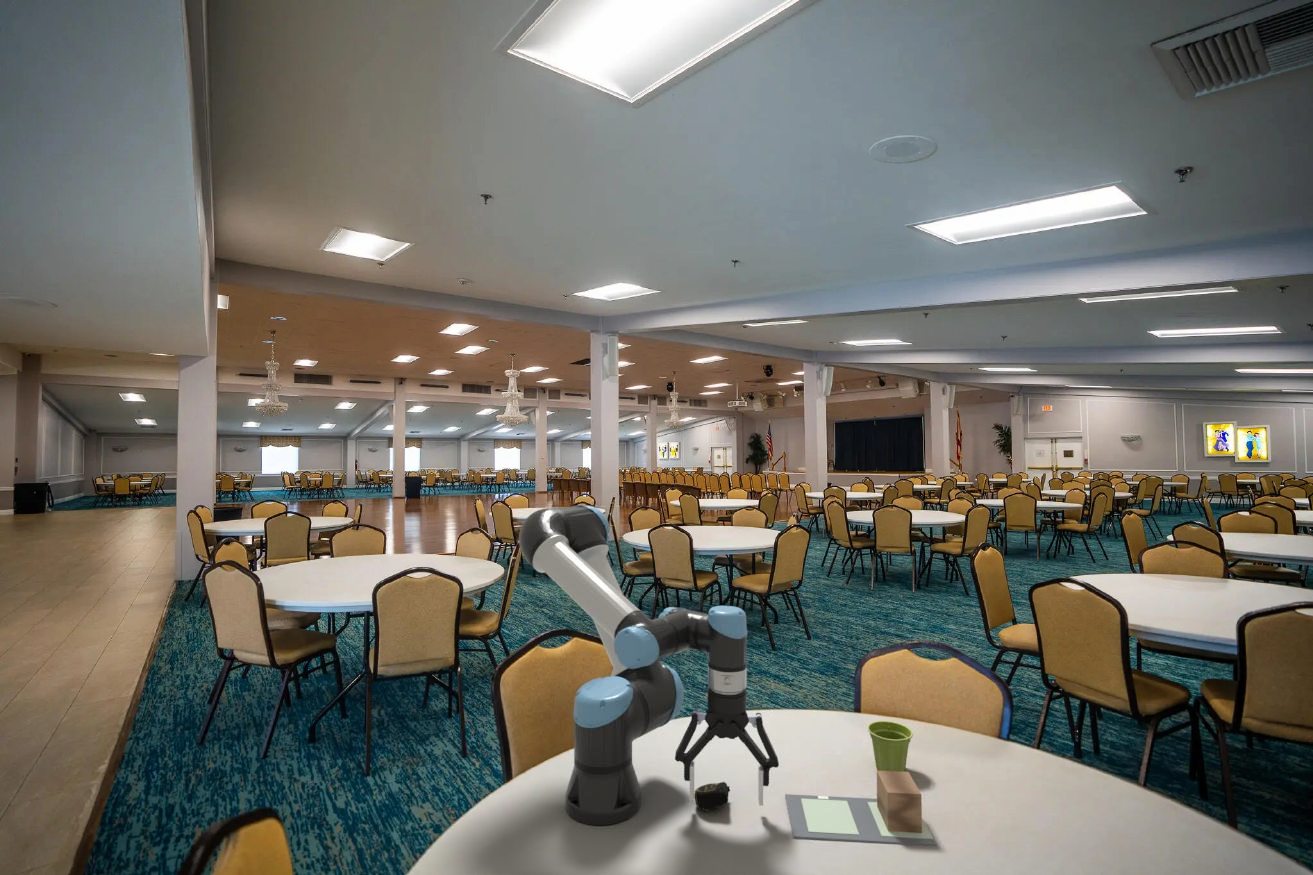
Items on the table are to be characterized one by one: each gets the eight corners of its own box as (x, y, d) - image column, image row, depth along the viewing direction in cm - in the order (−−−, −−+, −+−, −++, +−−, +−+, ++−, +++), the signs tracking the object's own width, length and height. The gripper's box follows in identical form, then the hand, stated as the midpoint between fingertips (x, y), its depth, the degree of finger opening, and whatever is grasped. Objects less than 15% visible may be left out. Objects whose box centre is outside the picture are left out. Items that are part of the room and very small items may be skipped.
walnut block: (888, 831, 114) (887, 792, 114) (877, 806, 122) (876, 770, 122) (922, 832, 113) (921, 794, 113) (908, 808, 121) (908, 771, 121)
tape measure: (730, 809, 119) (725, 788, 120) (695, 816, 119) (690, 795, 120) (732, 798, 125) (727, 778, 126) (699, 805, 126) (695, 785, 127)
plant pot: (920, 780, 133) (919, 739, 133) (876, 780, 133) (875, 739, 133) (903, 759, 142) (903, 720, 143) (862, 758, 143) (862, 720, 143)
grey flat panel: (793, 840, 112) (793, 835, 112) (785, 798, 126) (785, 793, 126) (936, 848, 110) (936, 843, 110) (912, 804, 124) (912, 799, 124)
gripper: (662, 692, 119) (661, 805, 118) (793, 698, 116) (792, 814, 115) (665, 678, 126) (664, 784, 126) (789, 684, 124) (788, 793, 123)
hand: (726, 799), depth 121 cm, fingers open, 13 cm apart
